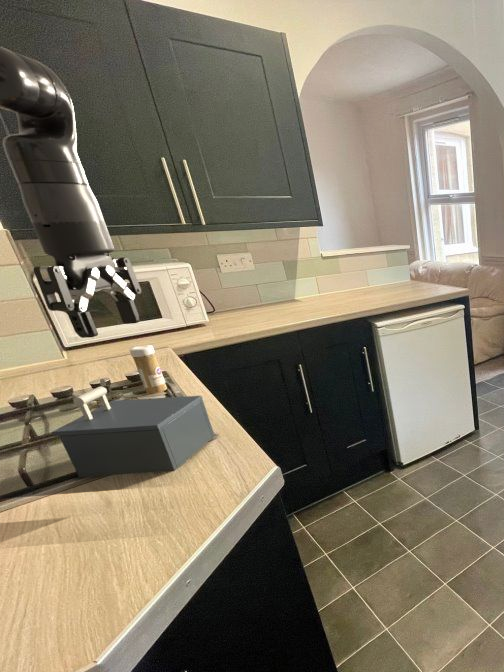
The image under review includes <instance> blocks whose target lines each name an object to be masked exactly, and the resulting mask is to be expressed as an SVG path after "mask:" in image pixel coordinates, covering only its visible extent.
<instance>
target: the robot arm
mask: <svg viewBox="0 0 504 672" xmlns="http://www.w3.org/2000/svg"><path fill="white" fill-rule="evenodd" d="M0 109H1V110H5V111H9V112H11V113H15V115H16V118H17V124H18V133H13V134H8V135H6V136H5V137H4V138H3V139H2V146H3V150H4V153H5V154H4V155H5V156H6V159H7V161H8V164H9V166H10V168H11V171H12V174H13V175H14V178H15V181H16V182H17V184H18V188H19V192H20V196H21V200H22V203H23V206H24V209H25V210H26V212H27V215H28V218H29V220H30V222H31V224H32V227H33V229H34V231H35V234H36V235H37V236H36V237H37V239H38V241H39V243H40V246H41V248H42V251H43V252H44V254H46V255H47V256H50V257H52V258H53V260H54V262H55V265H41V266H39V265H38V266H34V267H33V273H34V276H35V278H36V281H37V283H38V286H39V288H40V291H41V294H42V296H43V299H44V302H45V304H46V307H47V309H48V310H49V311H51V312H63V313H66V315H67V316H68V319H69V321H70V323H71V325H72V327H73V331H74V332H75V334H76V335H78V337H80V338H81V339H84V338H86V339H87V338H95V337H97V336H98V335H99V332H98V329H97V327H96V325H95V322H94V320H93V317H92V315H91V313H90V311H87V310H88V305H89V301H90V299H92V298H94V295H95V293H97V292H100V291H102V292H104V293H107V294H108V295H110V296H111V297H112V298H113V299H114V300H115V305H116V308H117V310H118V313H119V316H120V318H121V321H122V323H123V324H124V325H125V324H126V325H129V324H131V325H133V324H138V323H140V315H139V312H138V309H137V306H136V304H135V301H134V300H135V299H136V296H137V295H140V294H142V292H143V291H142V288H141V286H140V282H139V281H138V278H137V275H136V273H135V270H134V267H133V266H132V263H131V261H130V259H129V257H126V256H125V257H124V256H123V257H120V256H119V257H111V256H110V253H113V252H114V251H115V246H114V243H113V241H112V238H111V235H110V232H109V230H108V227H107V224H106V221H105V219H104V216H103V213H102V210H101V208H100V204H99V202H98V200H97V198H96V196H95V194H94V193H93V191H92V189H91V186H90V185H89V181H88V178H87V176H86V173H85V170H84V168H83V165H82V162H81V160H80V157H79V155H78V142H77V141H78V136H77V128H76V127H77V126H76V117H75V110H74V105H73V101H72V99H71V95H70V93H69V91H68V90H67V88H66V86H65V85H64V82H63V81H62V80H61V79H60V77H59V76H58V75H57V74H56V73H55V71H53V70H52V69H51V68H50V67H48V66H47V65H45V64H44V63H42V62H41V61H39V60H37V59H34V58H31V57H28V56H26V55H23V54H21V53H19V52H15V51H13V50H10V49H8V48H5V47H3V46H0ZM127 281H128V282H129V284H130V286H128V283H127ZM56 294H57V295H58V298H59V301H58V299H57V295H56ZM75 301H76V302H75Z"/></svg>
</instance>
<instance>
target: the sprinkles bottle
mask: <svg viewBox="0 0 504 672" xmlns="http://www.w3.org/2000/svg"><path fill="white" fill-rule="evenodd" d="M129 354H130V356H131V357H132V359H133V361H134V364H135V366H136V370H137V373H138V375H139V377H140V380H141V383H142V385H143V388H144V389H145V392H146V394H147V395H149V394H151V395H152V394H153V395H154V394H159V393H161V392H165V391H166V390H167V389H168V387H167V385H166V380H165V377H164V376H163V375H164V374H163V373H162V370H161V367H160V365H159V362H158V360H157V357H156V352H155V349H154V347H153V345H149V344H148V345H147V344H146V345H138V346H134V347H131V348H130V349H129Z"/></svg>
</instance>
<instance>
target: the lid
mask: <svg viewBox="0 0 504 672" xmlns="http://www.w3.org/2000/svg"><path fill="white" fill-rule="evenodd" d="M107 393H108V390H107V388H106V387H104V386H101V385H100V386H97V387H95V388H93V389H91V390H88V391H87V392H84V393H82V394H80V395H78V396H75V397H74V398H73V399H72V401H73V404H74V405H75V406H78V407H79V409H80V411H81V413H82V416H80V417H78V418H76V419H74V420H72V421H70V422H68V423H67V424H65V425H62V426H61V427H59V428H57V429H54V430H52V431H51V435H52V436H53V437H59V436H65V435H80V434H96V433H111V432H127V431H142V430H158V429H160V428H161V427H163V426H164V425H166V424H167V423H169V422H170V421H172V420H173V419H174V418H176V417H177V416H179V415H180V414H182V413H183V412H185V411H186V410H188V409H189V408H191V407H192V406H193V405H195V404H196V403H198V402H199V401H201V400H203V396H202V395H187V396H172V397H171V396H170V397H156V398H155V397H154V398H139V399H120V400H119V399H118V400H110V401H109V400H108V398H107V396H106V395H107ZM97 399H99V402H100V403H101V406H99V407H97V408H95V409H93V410H90V408H89V406H88V404H89V403H90V402H93V401H94V400H97Z"/></svg>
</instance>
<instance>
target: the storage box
mask: <svg viewBox="0 0 504 672" xmlns="http://www.w3.org/2000/svg"><path fill="white" fill-rule="evenodd" d="M208 414H209V413H208V412H207V409H206V406H205V402H204V400H203V399H202V400H201V401H199V402H198V403H196V404H195V405H193V406H192V407H191V408H189V409H188V410H186V411H185V412H183V413H182V414H180V415H179V416H177V417H176V418H174V419H173V420H172V421H170V422H169V423H167V424H166V425H164V426H163V427H161V428H160V429H158V430H142V431H127V432H111V433H96V434H80V435H65V436H58V437H59V440H60V441H61V443H62V445H63V448H64V450H65V451H66V453H67V455H68V457H69V460H70V461H71V463H72V466H73V468H74V470H75V472H76V474H77V477H78V478H93V477H106V476H122V475H135V474H150V473H163V472H175V471H177V470H178V469H179V468H180V467H181V466H182V465H183V464H184V463H186V462H187V461H188V460H189V459H190V458H191V457H192V456H193V455H195V454H196V453H197V452H198V451H199V450H200V449H202V448H203V447H204V446H205V445H206V444H208V442H210V441H211V440H212V439H213V438H214V437H215V436H216V435H215V433H214V429H213V426H212V423H211V420H210V417H209V415H208Z"/></svg>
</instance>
